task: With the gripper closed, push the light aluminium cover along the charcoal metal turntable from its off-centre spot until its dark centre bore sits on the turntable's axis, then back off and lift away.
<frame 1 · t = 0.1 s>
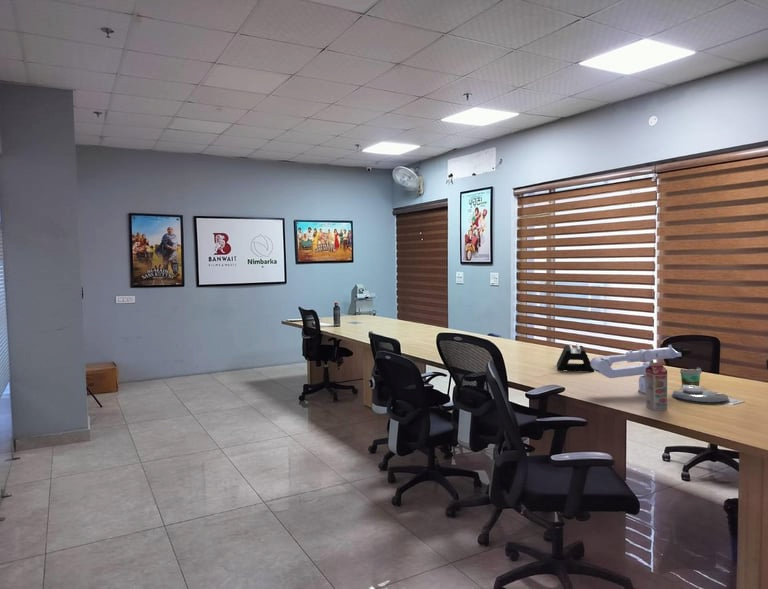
hand: (686, 350, 282), 22 cm above the table, tool horizontal, fingers open, 7 cm apart
turntable: (699, 395, 267), point 1 cm above the table, hinge at 0.0°, touching cover
juice carton: (656, 408, 251), on the table
cover: (692, 391, 273), point 2 cm above the table, touching turntable
device stand: (574, 368, 353), on the table
turntable base: (699, 398, 267), on the table
food container: (693, 387, 292), on the table
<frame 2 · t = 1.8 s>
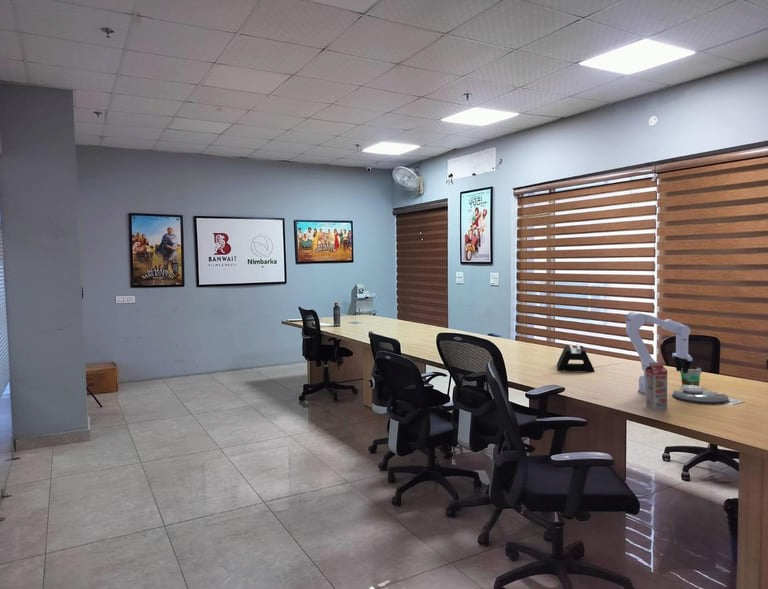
hand: (682, 372, 282), 10 cm above the table, tool pointing down, fingers open, 5 cm apart
nothing on the table moved.
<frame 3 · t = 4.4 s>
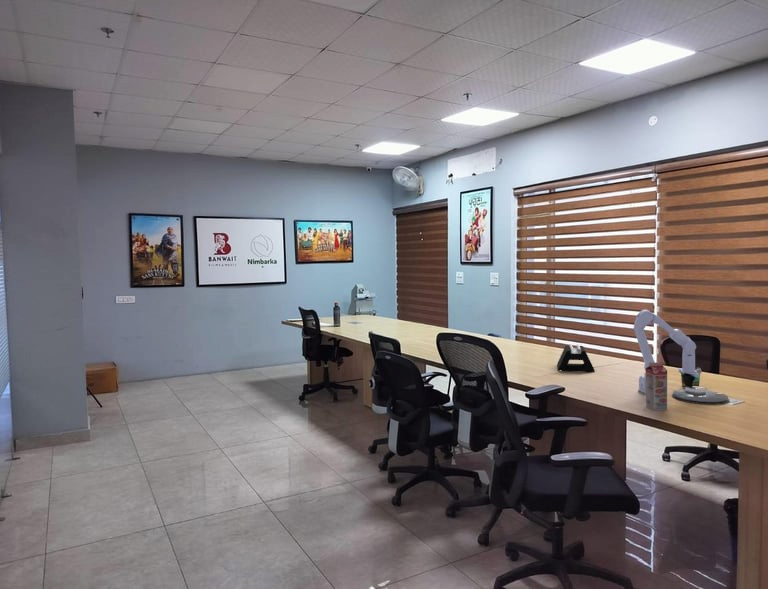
hand: (688, 388, 276), 3 cm above the table, tool pointing down, fingers closed
cover: (695, 392, 271), point 2 cm above the table, touching gripper, turntable
everything else where it was.
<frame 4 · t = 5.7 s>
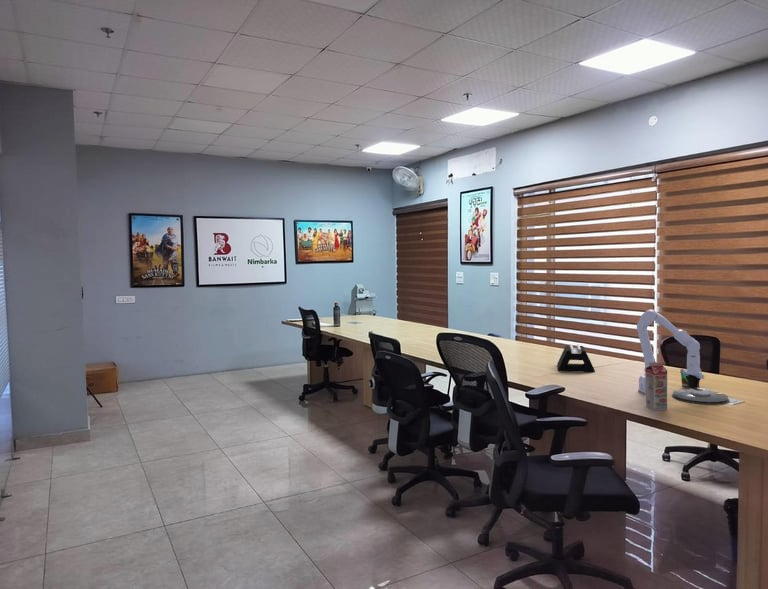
hand: (693, 389, 272), 3 cm above the table, tool pointing down, fingers closed
cover: (700, 394, 267), point 2 cm above the table, touching turntable
everything else where it was.
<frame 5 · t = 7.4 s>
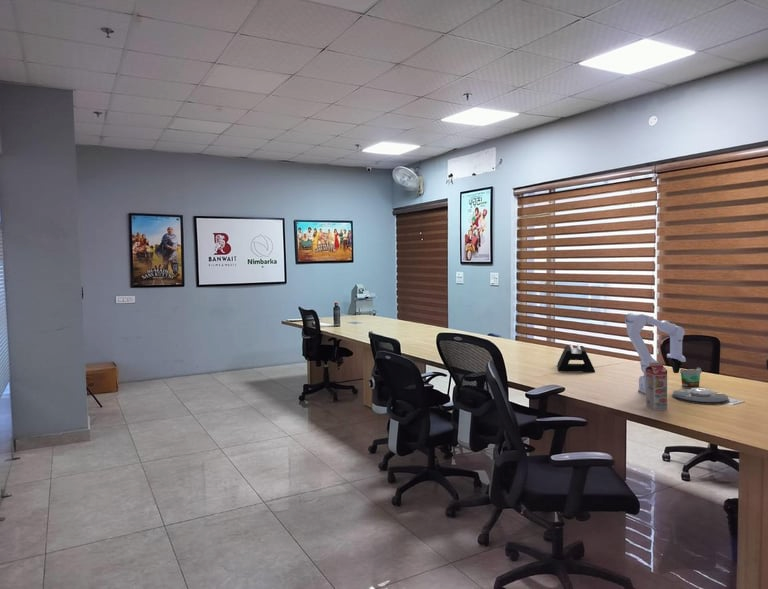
hand: (676, 372, 285), 9 cm above the table, tool pointing down, fingers closed
nothing on the table moved.
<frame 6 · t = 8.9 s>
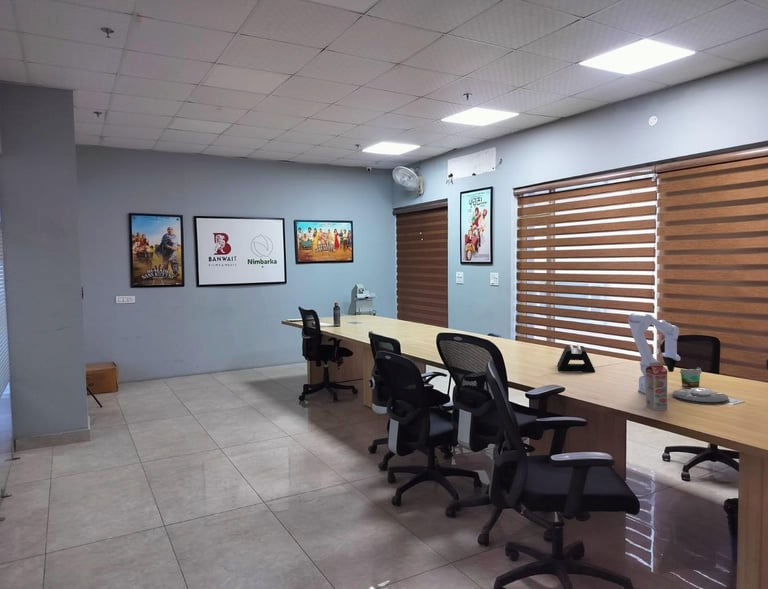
hand: (670, 371, 289), 9 cm above the table, tool pointing down, fingers closed
at the end: cover 0.4 cm off-centre on the turntable, point 1.9 cm above the turntable's base; cover tilted 0°; cover moved 6.3 cm from its start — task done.
